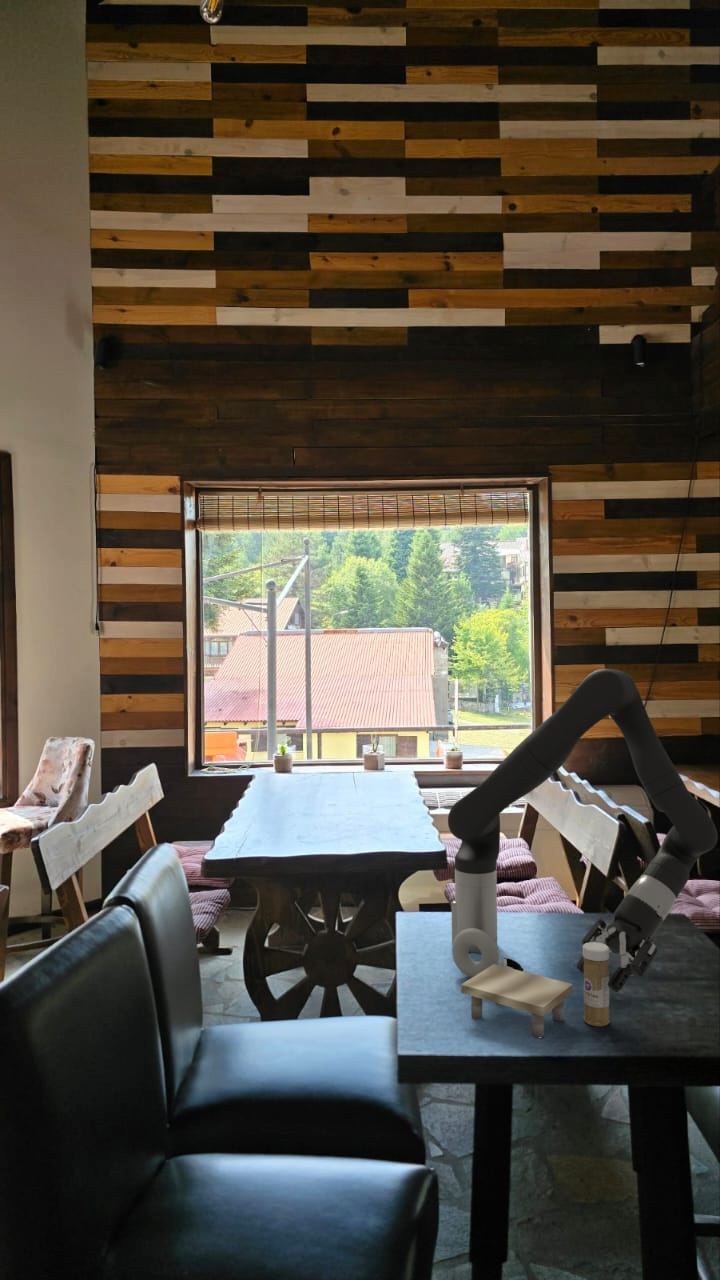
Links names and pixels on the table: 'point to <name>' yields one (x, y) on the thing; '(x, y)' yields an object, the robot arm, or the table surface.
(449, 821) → the robot arm
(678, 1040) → the table surface
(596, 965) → the sprinkles bottle
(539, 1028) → the small wooden stool
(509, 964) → the watch
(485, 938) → the donut
